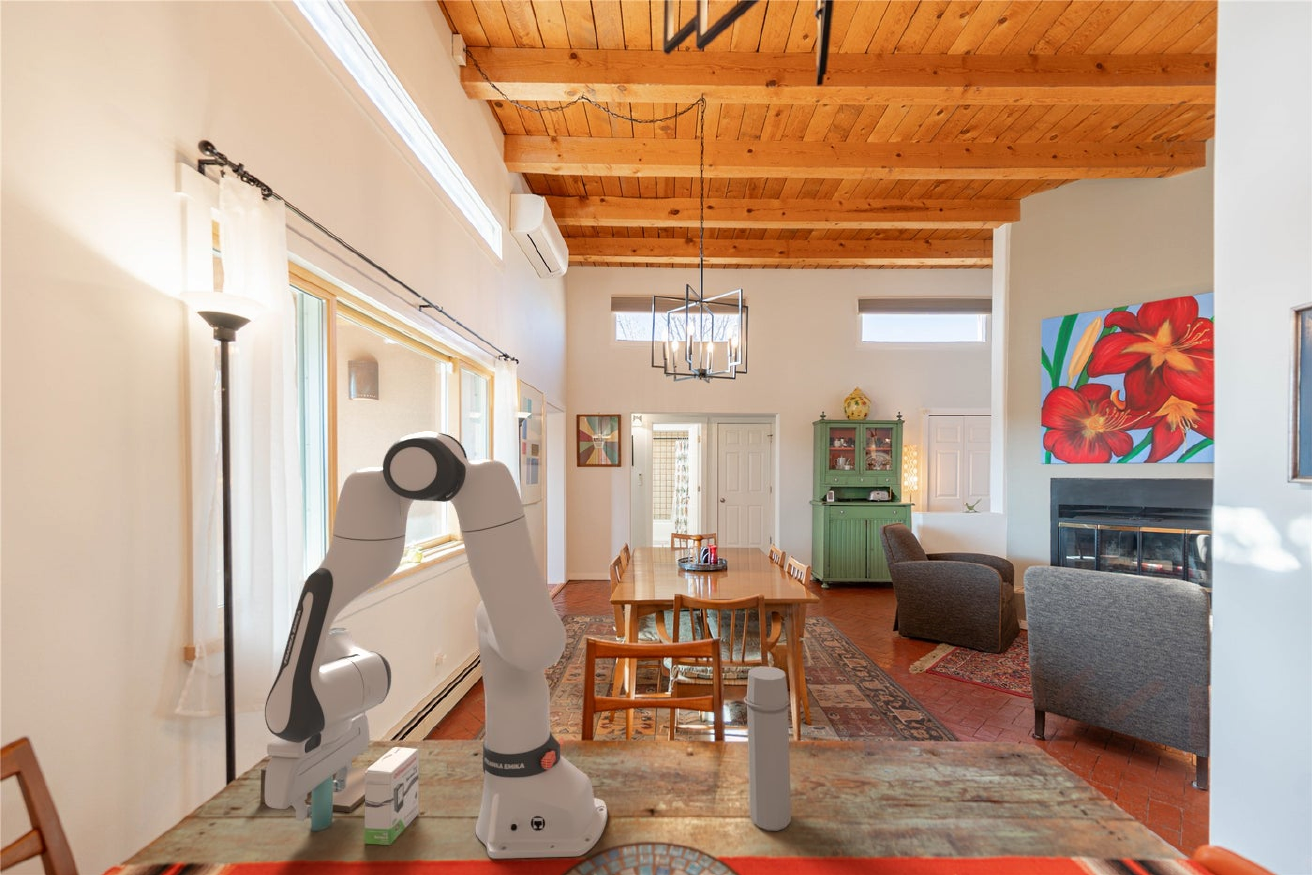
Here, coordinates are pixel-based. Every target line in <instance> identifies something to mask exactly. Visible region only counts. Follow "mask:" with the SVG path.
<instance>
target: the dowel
mask: <svg viewBox="0 0 1312 875" xmlns="http://www.w3.org/2000/svg"><path fill="white" fill-rule="evenodd" d="M311 811H312V814H311V815H310V816H311V817H310V818H311V819H310V820H311V822H310V828H311V831H313V832H319V831H323V830H326V829H328V828H329V827H330V826H332V824H333V820H334V819H333V818H334V817H333V816H334V815H333V813H334V810H333V775H332V776H331V777H329V778H328V779H326V780H325V781H324V782H322V783H321V784H320V785H318V786H317V787H315V788H314V789H313V790H312V810H311Z"/></svg>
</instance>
